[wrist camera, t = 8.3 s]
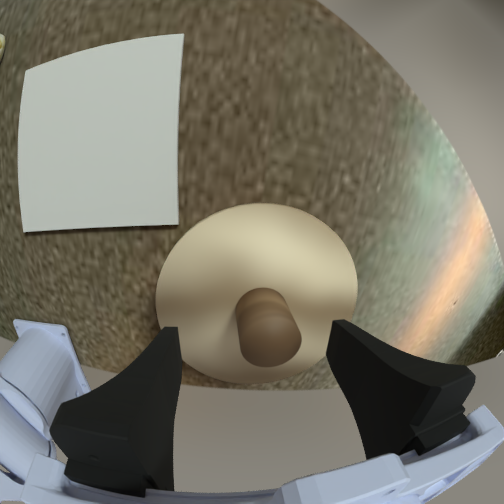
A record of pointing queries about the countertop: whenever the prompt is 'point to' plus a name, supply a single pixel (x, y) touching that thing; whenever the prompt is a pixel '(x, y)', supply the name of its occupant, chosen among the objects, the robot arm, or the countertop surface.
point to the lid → (256, 292)
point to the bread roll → (2, 46)
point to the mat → (102, 137)
